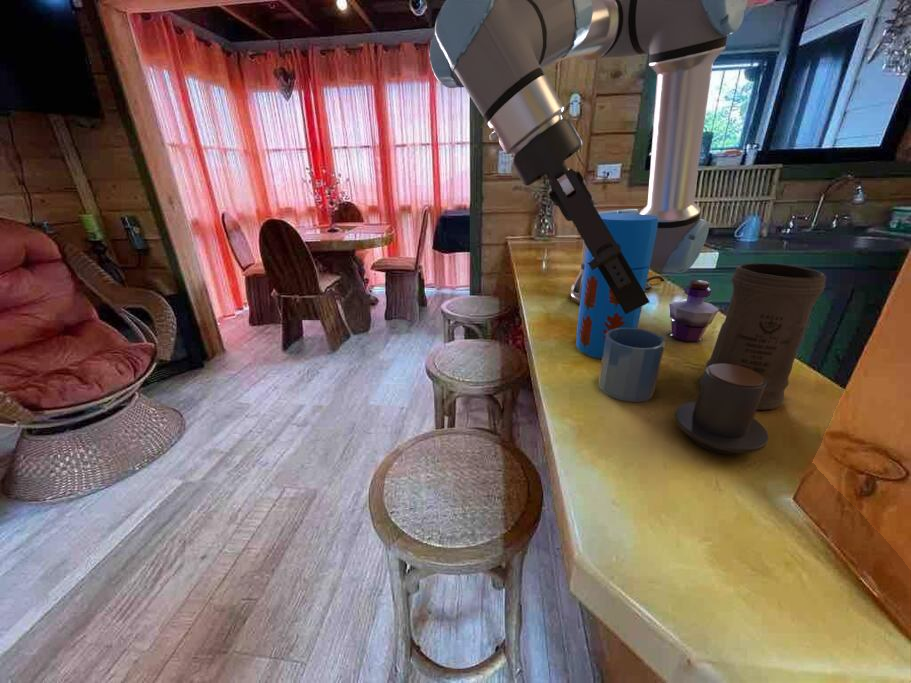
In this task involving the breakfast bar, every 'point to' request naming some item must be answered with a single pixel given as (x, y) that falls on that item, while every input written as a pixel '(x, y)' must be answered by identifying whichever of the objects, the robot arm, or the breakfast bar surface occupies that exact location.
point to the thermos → (596, 295)
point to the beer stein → (767, 323)
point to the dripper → (725, 411)
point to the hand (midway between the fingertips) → (624, 289)
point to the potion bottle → (692, 313)
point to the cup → (630, 363)
